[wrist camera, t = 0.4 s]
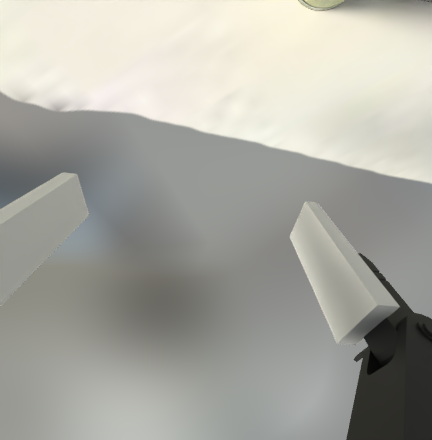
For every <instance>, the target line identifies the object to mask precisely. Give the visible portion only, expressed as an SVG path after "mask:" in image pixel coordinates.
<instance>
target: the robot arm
mask: <svg viewBox="0 0 432 440" xmlns="http://www.w3.org/2000/svg"><path fill="white" fill-rule="evenodd" d="M88 216H89V213H88V209H87V206H86V202H85V199H84V196H83V192H82V189H81V186H80V182H79V179H78V175H77V174H72V173H61V174H59V175H58V176H56V177H54V178H53V179H51V180H49V181H48V182H46V183H44V184H42V185H41V186H39V187H37V188H36V189H34V190H32V191H30V192H29V193H27V194H25V195H24V196H22V197H20V198H19V199H17V200H15V201H14V202H12V203H10V204H8V205H7V206H5V207H3V208H2V209H0V306H1V305H2V304H3V303H4V302H5V301H6V300H7V299H8V298H9V297H10V296H11V295H12V294H13V293H14V292H15V291H16V290H17V289H18V288H19V287H20V286H21V285H22V284H23V283H24V282H25V280H26V279H28V278H29V277H30V275H31V274H32V273H33V272H34V271H35V270H36V269H37V268H38V267H39V266H40V265H41V264H42V263H43V262H44V261H45V260H46V259H47V258H48V257H49V256H50V255H51V254H52V253H53V252H54V251H55V250H56V249H57V248H58V247H59V246H60V244H61V243H63V241H64V240H65V239H66V238H67V237H68V236H69V235H70V234H71V233H72V232H73V231H74V230H75V229H76V228H77V227H78V226H79V225H80V224H81V223H82V222H83V221H84V220H85V219H86V218H87V217H88ZM290 239H291V241H292V243H293V245H294V248H295V250H296V252H297V254H298V256H299V259H300V261H301V263H302V266H303V268H304V270H305V272H306V275H307V277H308V279H309V281H310V284H311V286H312V288H313V291H314V293H315V295H316V297H317V300H318V302H319V304H320V306H321V309H322V311H323V313H324V315H325V317H326V320H327V322H328V324H329V327H330V329H331V331H332V333H333V336H334V338H335V340H336V342H337V344H348V345H356V344H357V343H358V342H359V341H360V340H362V339H363V338H364V339H365V340H366V342H367V344H368V347H367V348H366V349H364V350H363V351H362V352H360V353H359V354H358V355H357V356H356V357H355V359H354V360H355V361H356V362H357V361H359V360H360V359H361V358H363V360H362V365H361V370H360V375H359V380H358V385H357V390H356V395H355V400H354V405H353V410H352V414H351V419H350V425H349V429H348V434H347V440H432V319H431V318H429V317H426V316H424V315H422V314H417V313H414V312H413V311H412V310H411V309H410V308H409V306H408V305H407V304H406V303H405V301H404V300H403V299H402V298H401V297H400V295H399V294H398V293H397V292H396V291H395V289H394V288H393V287H392V286H391V285H390V283H389V282H388V281H386V279H385V277H384V276H383V275H382V274H381V273H379V270H378V269H377V268H376V267H375V265H374V264H373V263H372V262H371V261H369V259H367V258H366V257H365V256H363V255H362V254H361V253H357V252H356V251H355V249H354V248H353V247H352V246H351V244H350V243H349V242H348V240H347V239H346V238H345V237H344V236H343V234H342V233H341V232H340V231H339V229H338V228H337V227H336V225H335V224H334V223H333V222H332V220H331V219H330V218H329V217H328V215H327V214H326V213H325V212H324V210H323V209H322V208H321V206H320V205H319V204H318V203H314V202H305V203H304V205H303V208H302V210H301V212H300V214H299V217H298V219H297V221H296V224H295V226H294V228H293V230H292V233H291V235H290Z"/></svg>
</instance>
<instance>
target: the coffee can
mask: <svg viewBox="0 0 432 440" xmlns="http://www.w3.org/2000/svg"><path fill="white" fill-rule="evenodd" d="M344 1H345V0H299V2H300V3H301V4H302V5H304V6H305V7H307V8H309V9H311V10H316V11H322V10H328V9H332V8H334V7H336V6H337V5H339V4H341V3H342V2H344Z"/></svg>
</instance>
